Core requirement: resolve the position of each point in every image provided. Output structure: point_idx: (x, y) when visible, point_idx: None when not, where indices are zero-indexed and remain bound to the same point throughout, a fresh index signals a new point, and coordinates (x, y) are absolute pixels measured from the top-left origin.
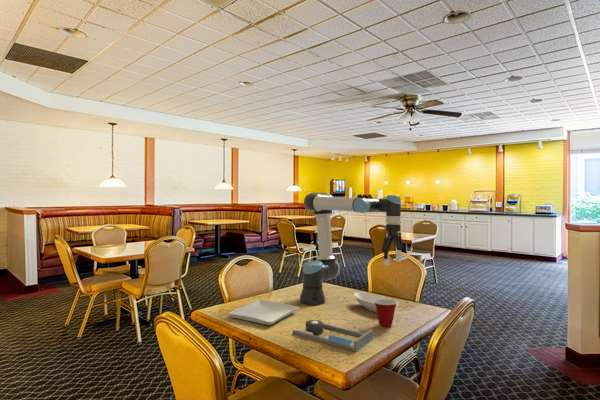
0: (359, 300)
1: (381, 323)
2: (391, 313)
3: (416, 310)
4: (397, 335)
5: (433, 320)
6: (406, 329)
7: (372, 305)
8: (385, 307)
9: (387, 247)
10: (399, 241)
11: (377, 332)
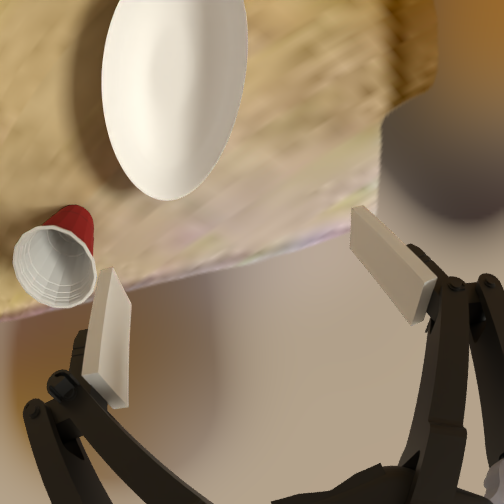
0: (116, 24)
1: (53, 232)
2: (66, 276)
3: (303, 171)
4: None
5: (250, 261)
6: None
7: (111, 111)
8: (38, 285)
9: (89, 471)
10: (488, 383)
11: None
